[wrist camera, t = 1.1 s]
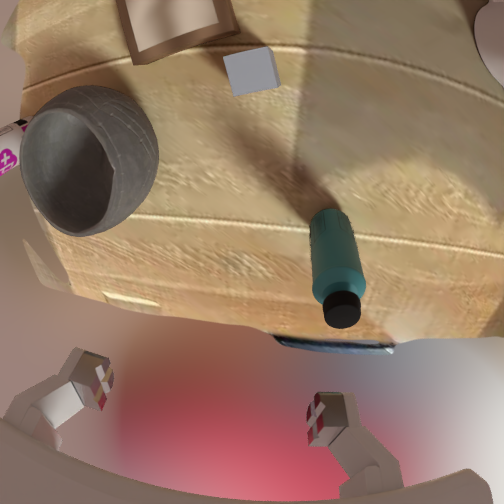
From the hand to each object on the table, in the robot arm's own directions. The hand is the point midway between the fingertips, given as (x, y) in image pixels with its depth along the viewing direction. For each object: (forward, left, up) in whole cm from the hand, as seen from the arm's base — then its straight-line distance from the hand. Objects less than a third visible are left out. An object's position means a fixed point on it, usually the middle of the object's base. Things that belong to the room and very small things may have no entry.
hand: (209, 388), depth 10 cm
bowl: (+24, -6, -35) cm, 44 cm away
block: (0, -10, -35) cm, 37 cm away
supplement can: (+44, -15, -35) cm, 59 cm away
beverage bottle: (-6, +14, -35) cm, 38 cm away
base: (+8, -23, -35) cm, 43 cm away
